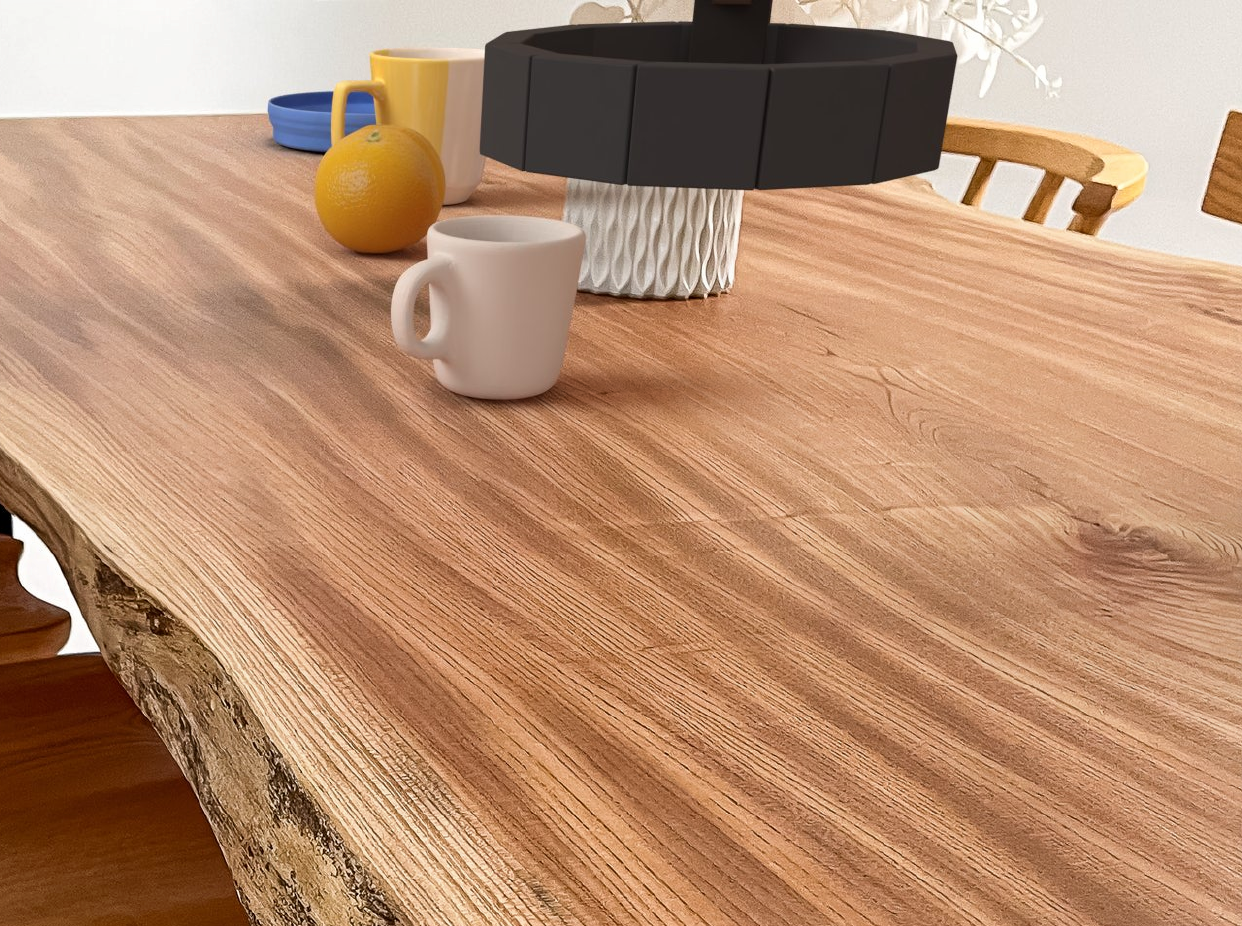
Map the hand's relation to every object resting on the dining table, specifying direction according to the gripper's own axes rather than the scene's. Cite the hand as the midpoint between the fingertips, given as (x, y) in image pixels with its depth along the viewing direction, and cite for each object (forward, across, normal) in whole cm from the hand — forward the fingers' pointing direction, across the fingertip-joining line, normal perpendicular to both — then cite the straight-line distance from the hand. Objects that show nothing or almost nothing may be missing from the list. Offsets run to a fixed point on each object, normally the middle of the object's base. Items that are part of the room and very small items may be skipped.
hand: (723, 98), depth 73 cm
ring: (+1, +7, 0) cm, 7 cm away
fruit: (+17, -56, -25) cm, 64 cm away
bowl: (+17, -106, -36) cm, 114 cm away
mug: (+17, -77, -26) cm, 83 cm away
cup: (+17, -20, -12) cm, 29 cm away
